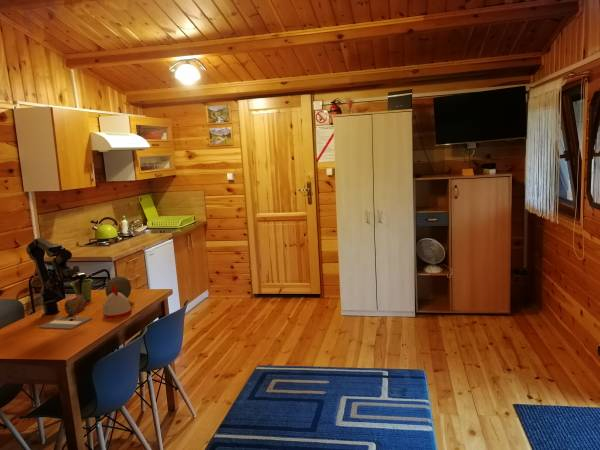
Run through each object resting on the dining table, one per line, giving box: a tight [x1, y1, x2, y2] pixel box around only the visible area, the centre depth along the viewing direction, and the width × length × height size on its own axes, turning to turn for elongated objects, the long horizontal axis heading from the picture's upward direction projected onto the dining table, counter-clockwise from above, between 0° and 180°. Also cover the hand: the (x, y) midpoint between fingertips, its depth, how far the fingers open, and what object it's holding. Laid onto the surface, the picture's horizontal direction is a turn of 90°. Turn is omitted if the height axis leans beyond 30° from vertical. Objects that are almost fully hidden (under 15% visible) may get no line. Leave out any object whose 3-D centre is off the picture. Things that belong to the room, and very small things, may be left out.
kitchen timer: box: [102, 286, 132, 319], centre depth 246 cm, size 14×14×15 cm
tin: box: [64, 295, 87, 315], centre depth 254 cm, size 15×3×8 cm, turn 168°
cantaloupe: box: [105, 276, 132, 299], centre depth 265 cm, size 14×14×15 cm
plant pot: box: [70, 278, 94, 302], centre depth 275 cm, size 12×12×11 cm
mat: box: [38, 316, 92, 330], centre depth 237 cm, size 20×14×1 cm
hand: (72, 295), depth 234 cm, fingers open, 9 cm apart
